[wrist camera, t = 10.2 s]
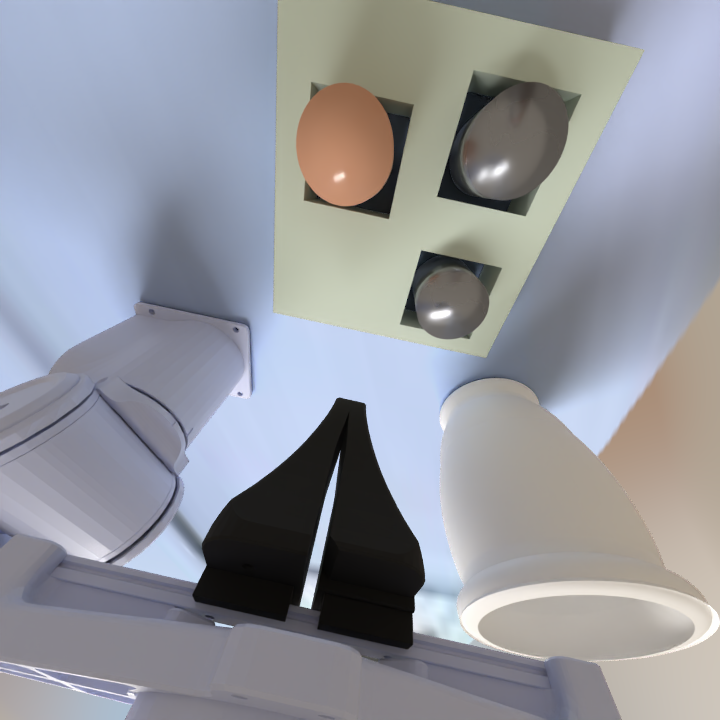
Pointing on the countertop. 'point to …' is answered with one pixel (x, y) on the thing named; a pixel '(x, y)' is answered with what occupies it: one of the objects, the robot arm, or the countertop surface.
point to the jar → (552, 539)
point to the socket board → (423, 155)
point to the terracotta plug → (345, 144)
